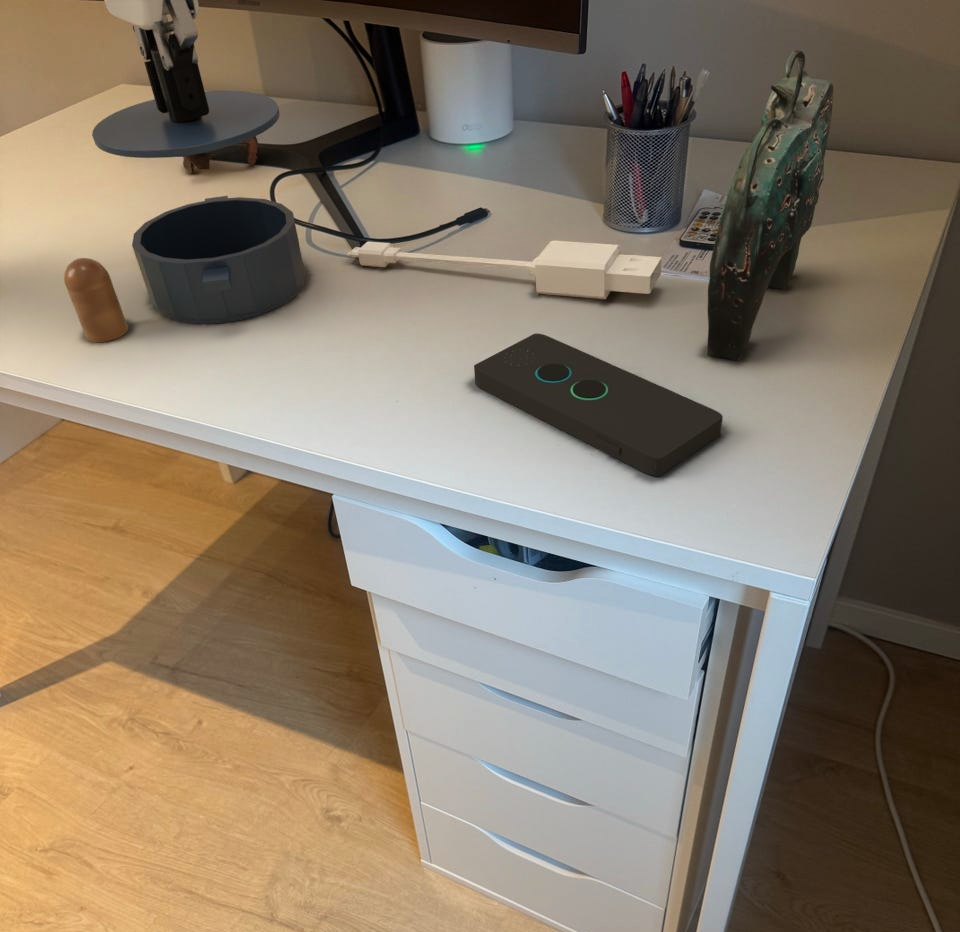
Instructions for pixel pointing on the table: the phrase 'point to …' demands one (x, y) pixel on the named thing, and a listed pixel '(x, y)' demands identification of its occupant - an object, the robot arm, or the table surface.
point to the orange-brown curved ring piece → (203, 159)
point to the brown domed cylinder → (95, 300)
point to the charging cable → (549, 267)
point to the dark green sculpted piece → (768, 207)
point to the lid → (185, 124)
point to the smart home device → (599, 403)
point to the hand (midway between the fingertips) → (183, 111)
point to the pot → (220, 259)
